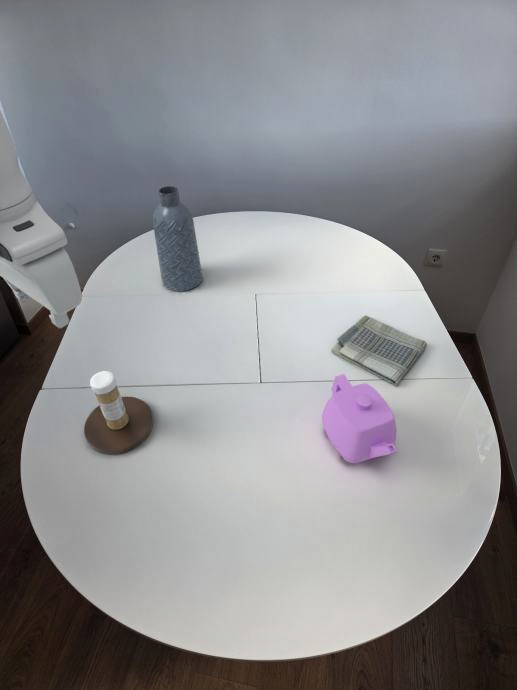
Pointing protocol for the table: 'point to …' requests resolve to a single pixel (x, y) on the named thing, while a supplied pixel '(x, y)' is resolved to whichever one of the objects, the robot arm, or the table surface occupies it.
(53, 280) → the robot arm
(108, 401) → the sprinkles bottle
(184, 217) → the vase
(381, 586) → the table surface
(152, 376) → the table surface
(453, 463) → the table surface
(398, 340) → the dish towel
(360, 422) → the teapot
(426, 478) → the table surface
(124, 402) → the disc
